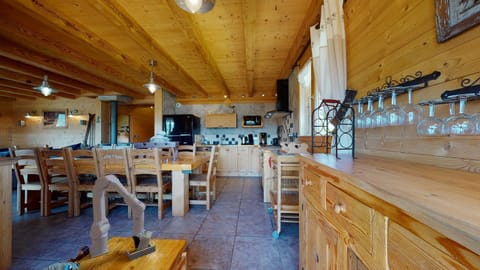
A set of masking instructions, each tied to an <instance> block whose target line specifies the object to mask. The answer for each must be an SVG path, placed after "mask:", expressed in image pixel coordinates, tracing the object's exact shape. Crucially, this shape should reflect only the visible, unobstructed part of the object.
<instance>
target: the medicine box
mask: <svg viewBox="0 0 480 270" xmlns="http://www.w3.org/2000/svg"><path fill="white" fill-rule="evenodd" d="M153 233H154V232H152V231H149V230H146V231H145V232H144V234H143V235H144V239H142V240H141V241H140V243H139V246H138V248H137V249H136V252H138V251H140V250H143V249H146V248H148V247H149V246H148V245H149V243H151V239H152V237H153Z"/></svg>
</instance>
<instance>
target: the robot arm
mask: <svg viewBox="0 0 480 270" xmlns="http://www.w3.org/2000/svg"><path fill="white" fill-rule="evenodd" d="M107 189H113V190H115V191H116V192H117V193H118V194H119V195H120V196H121V197H123V202H124V203H125V204H126V205H127V206H128V207H129V208H130V209H131V214H133V217H132V218H133V219H132V232H131V235H132V236H131V238H132V240H133V245H134V249H135V250H137V248H138V246H139V243H140V241H141V240H142V239H144V234H145V232H146V231H147V230H146V229H145V228H144V226H145V225H144V224H145V210H146V208H147V206H146V204H145V202H143V201H141V200H139V199H138V198H137V195H135V194H133V193H129V191H128V190H127V189H126V188H125V187H124V185H123V184H122V183H121V181H120V180H119V178H118V177H117V176H116V175H115V174H108V175H105V176H101V177H98V179H96V180H95V181H94V185H93V187H92V190H91V197H92V212H93V223H92V225H90V232H89V237H90V239H91V249H90V250H89V254H90V257H91V259H93V258H96V257H100V256H102V255H103V256H104V255H105V254H108V253H109V252H110V250H109V248H108V242H109V241H108V239H109V237H108V233H109V231H110V229H111V224H110V223H109V219H108V218H107V217H106V205H105V191H106V190H107Z"/></svg>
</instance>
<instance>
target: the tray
mask: <svg viewBox="0 0 480 270" xmlns="http://www.w3.org/2000/svg"><path fill="white" fill-rule="evenodd" d="M156 248H157V247H156V244H154V245H153V244H152V242H149V245H148V247H147V248H146V249H143V250H140V251H138V252H137V251H135V252H132V253H130V251H129V250H126V251H125V255H126V256H127V258H128V259H129V260H130V262H131V261H134V260H136V259H139V258H141V257H144V256H146V255H149V254H151V253H154V252H156Z"/></svg>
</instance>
